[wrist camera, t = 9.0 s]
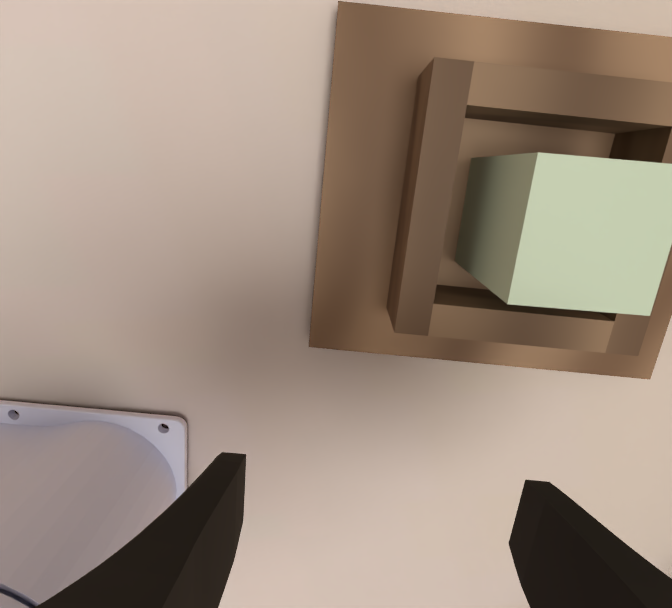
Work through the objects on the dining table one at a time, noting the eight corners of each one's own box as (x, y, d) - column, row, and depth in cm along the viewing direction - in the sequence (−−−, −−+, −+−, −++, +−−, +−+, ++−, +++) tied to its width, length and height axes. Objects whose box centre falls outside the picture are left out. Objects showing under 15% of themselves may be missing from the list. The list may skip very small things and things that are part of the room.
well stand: (310, 338, 20) (303, 377, 16) (338, 10, 16) (337, -37, 13) (635, 369, 20) (703, 415, 17) (737, 53, 17) (855, 19, 13)
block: (454, 261, 18) (507, 304, 12) (471, 157, 17) (537, 152, 11) (552, 269, 18) (650, 315, 12) (575, 166, 17) (694, 166, 11)
